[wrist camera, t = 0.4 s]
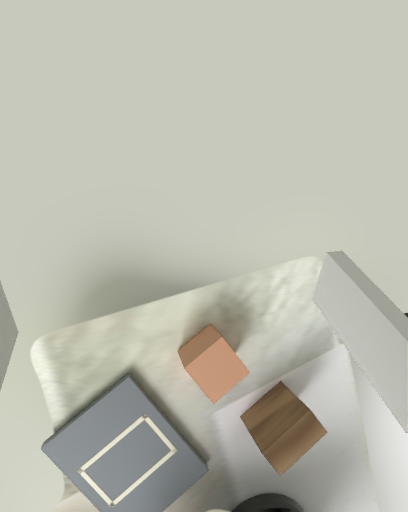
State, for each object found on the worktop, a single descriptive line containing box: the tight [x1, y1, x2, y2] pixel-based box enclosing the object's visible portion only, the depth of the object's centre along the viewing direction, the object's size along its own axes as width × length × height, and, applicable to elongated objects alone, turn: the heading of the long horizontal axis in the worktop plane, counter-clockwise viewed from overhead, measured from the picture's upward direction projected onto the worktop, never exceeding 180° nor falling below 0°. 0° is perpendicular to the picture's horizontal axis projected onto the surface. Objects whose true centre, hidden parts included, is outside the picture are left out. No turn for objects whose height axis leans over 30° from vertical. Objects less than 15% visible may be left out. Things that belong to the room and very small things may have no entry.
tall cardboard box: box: [240, 381, 327, 476], centre depth 47 cm, size 4×8×9 cm, turn 127°
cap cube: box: [178, 324, 250, 404], centre depth 46 cm, size 6×6×7 cm
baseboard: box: [41, 373, 208, 512], centre depth 47 cm, size 18×14×2 cm
